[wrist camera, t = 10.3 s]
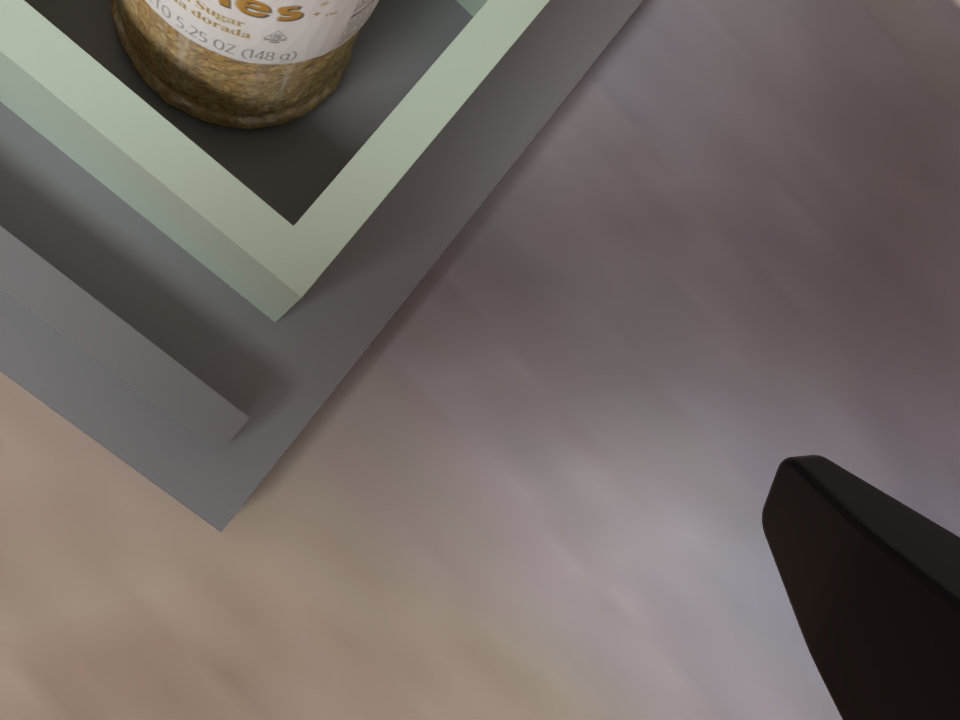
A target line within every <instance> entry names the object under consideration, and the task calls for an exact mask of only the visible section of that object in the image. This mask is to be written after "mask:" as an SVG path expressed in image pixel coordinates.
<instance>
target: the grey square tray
mask: <svg viewBox="0 0 960 720" xmlns="http://www.w3.org/2000/svg"><path fill="white" fill-rule="evenodd" d="M642 1H643V0H379V1H378V3H377V5H376V7H375V8H374V10H373V12H372V14H371V15H370V17H369V18H368V19H367V21H366V22H365V23H364V25H363V26H362V27H361V28H360V30H359V32H358V34H357V37H356V38H355V40H354V43H353V48H352V53H351V56H350V59H349V62H348V65H347V67H346V68H345V70H344V71H343V73H342V75H341V78H340V80H339V83H338V85H337V87H336V89H335V90H334V91H333V92H332V93H331V94H330V95H329V96H327V97H326V98H325V99H324V100H323V101H322V102H321V103H320V104H319V105H317V106H315V107H314V108H313V109H312V110H311V111H309V112H307V113H306V114H304V115H302V116H300V117H297V118H295V119H292V120H290V121H288V122H286V123H285V124H281V125H277V126H272V127H263V128H256V129H244V128H236V127H227V126H223V125H220V124H215V123H209V122H205V121H202V120H199V119H197V118H194V117H192V116H190V115H189V114H187V113H186V112H184V111H182V110H181V109H178V108H176V107H174V106H172V105H170V104H168V103H166V102H165V101H164V100H163V99H162V98H161V96H160V95H159V94H158V93H157V92H155V91H154V90H153V89H152V88H151V87H150V86H149V85H148V84H147V83H146V82H145V81H144V79H143V78H142V76H141V75H140V73H139V72H138V70H137V69H136V68H135V67H134V65H133V62H132V60H131V58H130V57H129V55H128V53H127V52H126V51H125V49H124V47H123V45H122V43H121V41H120V39H119V35H118V32H117V28H116V25H115V23H114V20H113V16H112V11H111V0H0V371H1V372H2V373H4V374H5V375H6V376H8V377H9V378H10V379H12V380H13V381H15V382H16V383H17V384H19V385H20V386H21V387H23V388H24V389H26V390H27V391H28V392H30V393H31V394H32V395H34V396H35V397H36V398H38V399H39V400H41V401H42V402H43V403H45V404H46V405H47V406H49V407H50V408H52V409H53V410H54V411H56V412H57V413H58V414H60V415H61V416H63V417H64V418H65V419H67V420H68V421H69V422H71V423H72V424H73V425H75V426H76V427H78V428H79V429H80V430H82V431H83V432H84V433H86V434H87V435H89V436H90V437H91V438H93V439H94V440H95V441H97V442H98V443H99V444H101V445H102V446H104V447H105V448H106V449H108V450H109V451H110V452H112V453H113V454H115V455H116V456H117V457H119V458H120V459H121V460H123V461H124V462H126V463H127V464H128V465H130V466H131V467H132V468H134V469H135V470H136V471H138V472H139V473H141V474H142V475H143V476H145V477H146V478H147V479H149V480H150V481H152V482H153V483H154V484H156V485H157V486H158V487H160V488H161V489H163V490H164V491H165V492H167V493H168V494H169V495H171V496H172V497H173V498H175V499H176V500H178V501H179V502H180V503H182V504H183V505H184V506H186V507H187V508H189V509H190V510H191V511H193V512H194V513H195V514H197V515H198V516H200V517H201V518H202V519H204V520H205V521H206V522H208V523H209V524H210V525H212V526H213V527H215V528H216V529H217V530H219V531H220V532H222V531H223V529H224V528H225V527H226V526H227V524H228V523H229V522H230V521H231V519H232V518H233V517H234V515H235V514H236V513H237V512H238V510H239V509H240V508H241V507H242V505H243V504H244V503H245V502H246V500H247V499H248V498H249V497H250V495H251V494H252V493H253V492H254V490H255V489H256V488H257V486H258V485H259V484H260V483H261V481H262V480H263V479H264V478H265V476H266V475H267V474H268V473H269V471H270V470H271V469H272V468H273V466H274V465H275V464H276V462H277V461H278V460H279V459H280V457H281V456H282V455H283V454H284V452H285V451H286V450H287V449H288V447H289V446H290V445H291V444H292V442H293V441H294V440H295V439H296V437H297V436H298V435H299V433H300V432H301V431H302V430H303V428H304V427H305V426H306V425H307V423H308V422H309V421H310V420H311V418H312V417H313V416H314V415H315V413H316V412H317V411H318V410H319V408H320V407H321V406H322V404H323V403H324V402H325V401H326V399H327V398H328V397H329V396H330V394H331V393H332V392H333V391H334V389H335V388H336V387H337V386H338V384H339V383H340V382H341V381H342V379H343V378H344V377H345V375H346V374H347V373H348V372H349V370H350V369H351V368H352V367H353V365H354V364H355V363H356V362H357V360H358V359H359V358H360V357H361V355H362V354H363V353H364V352H365V350H366V349H367V348H368V346H369V345H370V344H371V343H372V341H373V340H374V339H375V338H376V336H377V335H378V334H379V333H380V331H381V330H382V329H383V328H384V326H385V325H386V324H387V323H388V321H389V320H390V319H391V317H392V316H393V315H394V314H395V312H396V311H397V310H398V309H399V307H400V306H401V305H402V304H403V302H404V301H405V300H406V299H407V297H408V296H409V295H410V294H411V292H412V291H413V290H414V288H415V287H416V286H417V285H418V283H419V282H420V281H421V280H422V278H423V277H424V276H425V275H426V273H427V272H428V271H429V270H430V268H431V267H432V266H433V265H434V263H435V262H436V261H437V259H438V258H439V257H440V256H441V254H442V253H443V252H444V251H445V249H446V248H447V247H448V246H449V244H450V243H451V242H452V241H453V239H454V238H455V237H456V236H457V234H458V233H459V232H460V230H461V229H462V228H463V227H464V225H465V224H466V223H467V222H468V220H469V219H470V218H471V217H472V215H473V214H474V213H475V212H476V210H477V209H478V208H479V207H480V205H481V204H482V203H483V201H484V200H485V199H486V198H487V196H488V195H489V194H490V193H491V191H492V190H493V189H494V188H495V186H496V185H497V184H498V183H499V181H500V180H501V179H502V178H503V176H504V175H505V174H506V172H507V171H508V170H509V169H510V167H511V166H512V165H513V164H514V162H515V161H516V160H517V159H518V157H519V156H520V155H521V154H522V152H523V151H524V150H525V149H526V147H527V146H528V145H529V143H530V142H531V141H532V140H533V138H534V137H535V136H536V135H537V133H538V132H539V131H540V130H541V128H542V127H543V126H544V125H545V123H546V122H547V121H548V120H549V118H550V117H551V116H552V114H553V113H554V112H555V111H556V109H557V108H558V107H559V106H560V104H561V103H562V102H563V101H564V99H565V98H566V97H567V96H568V94H569V93H570V92H571V91H572V89H573V88H574V87H575V85H576V84H577V83H578V82H579V80H580V79H581V78H582V77H583V75H584V74H585V73H586V72H587V70H588V69H589V68H590V67H591V65H592V64H593V63H594V62H595V60H596V59H597V58H598V56H599V55H600V54H601V53H602V51H603V50H604V49H605V48H606V46H607V45H608V44H609V43H610V41H611V40H612V39H613V38H614V36H615V35H616V34H617V33H618V31H619V30H620V29H621V27H622V26H623V25H624V24H625V22H626V21H627V20H628V19H629V17H630V16H631V15H632V14H633V12H634V11H635V10H636V9H637V7H638V6H639V5H640V4H641V2H642Z"/></svg>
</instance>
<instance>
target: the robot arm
mask: <svg viewBox="0 0 960 720" xmlns="http://www.w3.org/2000/svg"><path fill="white" fill-rule="evenodd" d="M762 525H763V530H764V533H765V536H766V539H767V541H768V544H769V547H770V549H771V552H772V555H773V557H774V560H775V563H776V565H777V568H778V571H779V573H780V576H781V579H782V581H783V584H784V587H785V589H786V592H787V595H788V597H789V600H790V603H791V605H792V608H793V611H794V613H795V616H796V619H797V621H798V624H799V627H800V629H801V632H802V634H803V637H804V639H805V642H806V644H807V647H808V649H809V651H810V654H811V656H812V658H813V660H814V662H815V664H816V666H817V669H818V671H819V673H820V675H821V677H822V679H823V681H824V683H825V685H826V687H827V689H828V691H829V693H830V695H831V697H832V699H833V701H834V703H835V705H836V707H837V709H838V711H839V713H840V715H841V717H842V719H843V720H960V537H958V536H956V535H955V534H953V533H951V532H950V531H948V530H946V529H945V528H943V527H941V526H940V525H938V524H936V523H934V522H933V521H931V520H929V519H928V518H926V517H924V516H923V515H921V514H919V513H918V512H916V511H914V510H912V509H911V508H909V507H907V506H906V505H904V504H902V503H901V502H899V501H897V500H896V499H894V498H892V497H890V496H889V495H887V494H885V493H884V492H882V491H880V490H879V489H877V488H875V487H874V486H872V485H870V484H869V483H867V482H865V481H863V480H862V479H860V478H858V477H857V476H855V475H853V474H852V473H850V472H848V471H847V470H845V469H843V468H841V467H840V466H838V465H836V464H835V463H833V462H831V461H830V460H828V459H826V458H824V457H822V456H818V455H809V456H797V457H789V458H786V459H784V460H783V461H782V462H781V463H780V465H779V467H778V469H777V472H776V475H775V477H774V480H773V483H772V486H771V488H770V491H769V494H768V497H767V499H766V502H765V505H764V508H763V513H762Z"/></svg>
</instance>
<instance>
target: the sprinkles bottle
mask: <svg viewBox="0 0 960 720" xmlns="http://www.w3.org/2000/svg"><path fill="white" fill-rule="evenodd" d="M378 1H379V0H111V11H112V16H113V20H114V23H115V25H116V28H117V32H118V35H119V39H120V41H121V43H122V45H123V47H124V49H125V51H126V52H127V53H128V55H129V57H130V58H131V60H132V62H133V65H134V67H135V68H136V69H137V70H138V72H139V73H140V75H141V76H142V78H143V79H144V81H145V82H146V83H147V84H148V85H149V86H150V87H151V88H152V89H153V90H154V91H155V92H157V93H158V94H159V95H160V96H161V98H162V99H163V100H164V101H165V102H166V103H168V104H170V105H172V106H174V107H176V108H178V109H181V110H182V111H184V112H186V113H187V114H189V115H190V116H192V117H194V118H197V119H199V120H202V121H205V122H209V123H215V124H220V125H223V126H227V127H236V128H244V129H256V128H263V127H272V126H277V125H281V124H285V123H286V122H288V121H290V120H292V119H295V118H297V117H300V116H302V115H304V114H306V113H307V112H309V111H311V110H312V109H313V108H314V107H315V106H317V105H319V104H320V103H321V102H322V101H323V100H324V99H325V98H326V97H327V96H329V95H330V94H331V93H332V92H333V91H334V90H335V89H336V87H337V85H338V83H339V80H340V78H341V75H342V73H343V71H344V70H345V68H346V67H347V65H348V62H349V59H350V56H351V53H352V48H353V43H354V40H355V38H356V37H357V34H358V32H359V30H360V28H361V27H362V26H363V25H364V23H365V22H366V21H367V19H368V18H369V17H370V15H371V14H372V12H373V10H374V8H375V7H376V5H377V3H378Z"/></svg>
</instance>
